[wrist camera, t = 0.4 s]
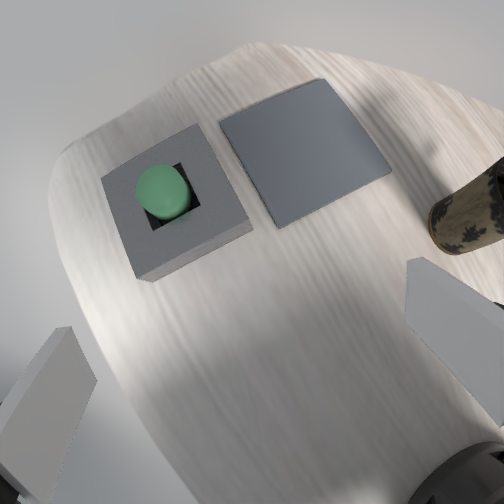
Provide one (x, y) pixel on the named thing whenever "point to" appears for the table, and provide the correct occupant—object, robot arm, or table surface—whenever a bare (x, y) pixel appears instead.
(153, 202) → the button
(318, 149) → the mat
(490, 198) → the mug
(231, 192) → the button box
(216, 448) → the table surface
